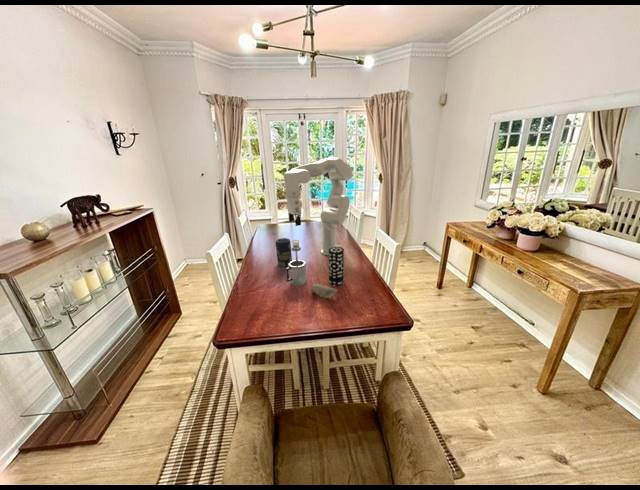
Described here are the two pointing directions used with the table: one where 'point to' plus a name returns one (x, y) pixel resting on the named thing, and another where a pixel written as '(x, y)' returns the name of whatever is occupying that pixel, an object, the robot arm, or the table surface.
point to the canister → (283, 251)
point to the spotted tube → (336, 266)
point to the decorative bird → (324, 291)
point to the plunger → (296, 248)
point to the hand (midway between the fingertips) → (294, 223)
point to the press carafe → (296, 273)
